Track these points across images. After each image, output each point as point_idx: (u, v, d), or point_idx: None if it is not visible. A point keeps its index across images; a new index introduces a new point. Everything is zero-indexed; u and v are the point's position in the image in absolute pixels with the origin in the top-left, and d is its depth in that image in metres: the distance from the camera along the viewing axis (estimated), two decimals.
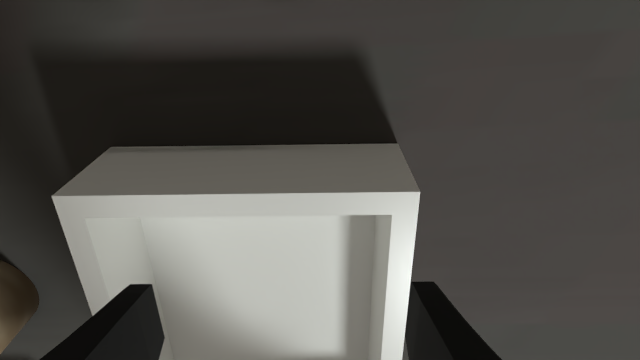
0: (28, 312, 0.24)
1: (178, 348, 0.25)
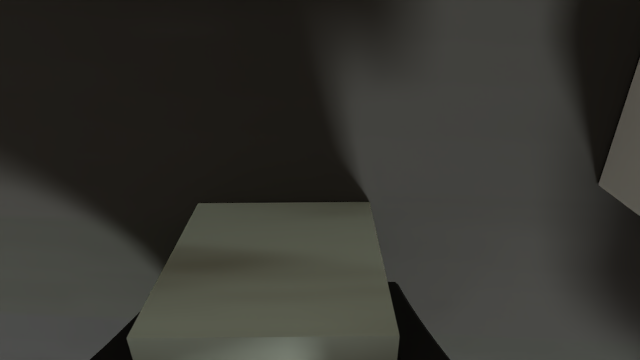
0: None
1: None
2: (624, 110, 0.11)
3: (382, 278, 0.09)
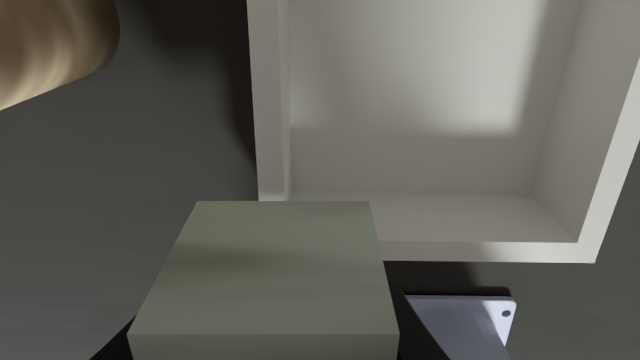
0: (109, 39, 0.17)
1: (299, 113, 0.19)
2: None
3: (382, 276, 0.09)
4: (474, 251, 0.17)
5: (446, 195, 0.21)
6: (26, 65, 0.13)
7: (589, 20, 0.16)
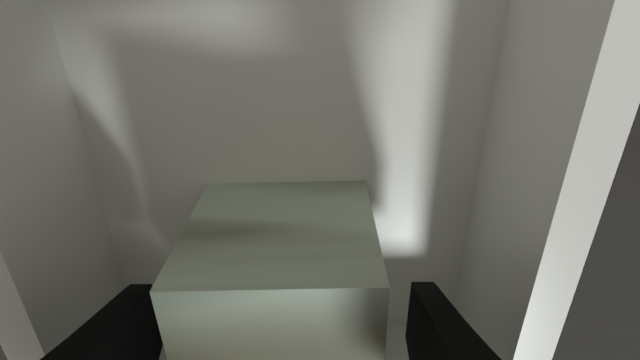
0: None
1: (123, 235, 0.14)
2: None
3: (375, 242, 0.10)
4: None
5: None
6: None
7: (500, 121, 0.11)
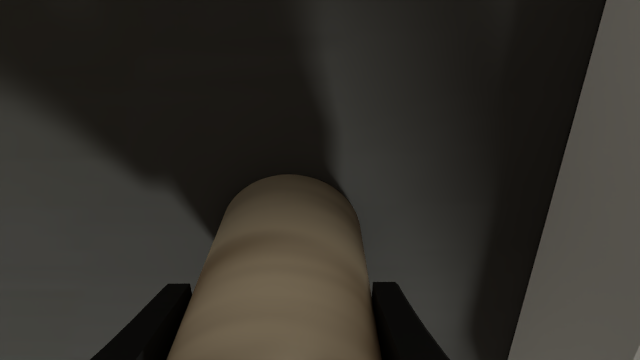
0: None
1: None
2: None
3: None
4: None
5: None
6: None
7: None
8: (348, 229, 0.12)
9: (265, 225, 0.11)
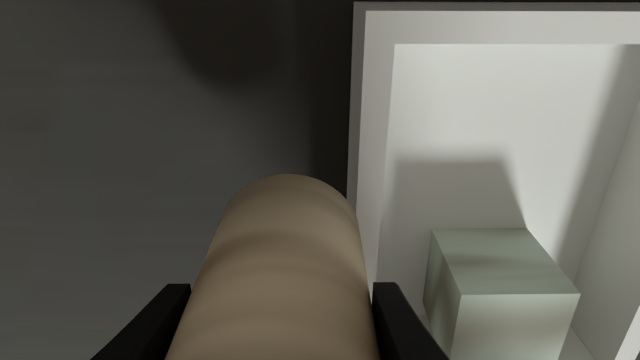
0: None
1: None
2: None
3: (558, 269, 0.19)
4: None
5: None
6: None
7: (617, 199, 0.20)
8: (346, 228, 0.12)
9: (264, 224, 0.11)
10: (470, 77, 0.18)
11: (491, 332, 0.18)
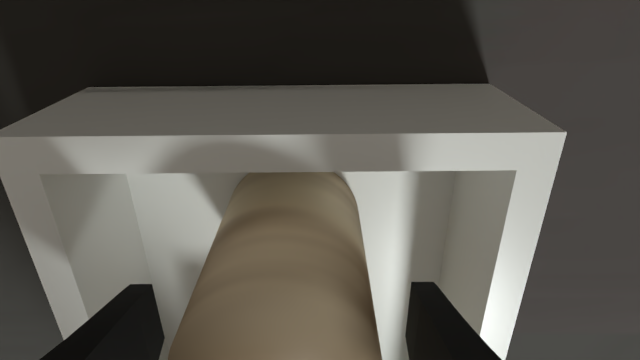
0: None
1: None
2: None
3: None
4: None
5: None
6: None
7: None
8: (346, 208, 0.13)
9: (270, 202, 0.12)
10: (242, 173, 0.15)
11: None
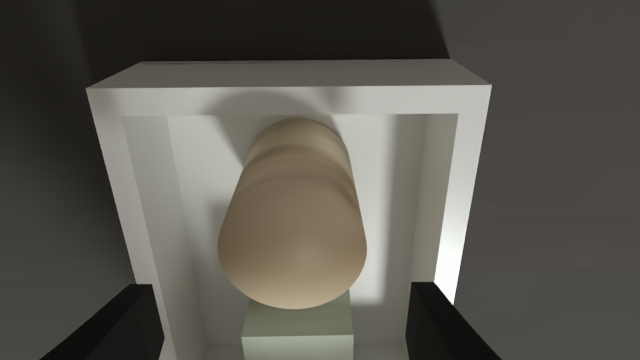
0: None
1: (205, 294, 0.24)
2: None
3: (349, 308, 0.20)
4: None
5: None
6: None
7: (417, 240, 0.21)
8: (340, 150, 0.18)
9: (283, 142, 0.16)
10: (259, 129, 0.19)
11: None
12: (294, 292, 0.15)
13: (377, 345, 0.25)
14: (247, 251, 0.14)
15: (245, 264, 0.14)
